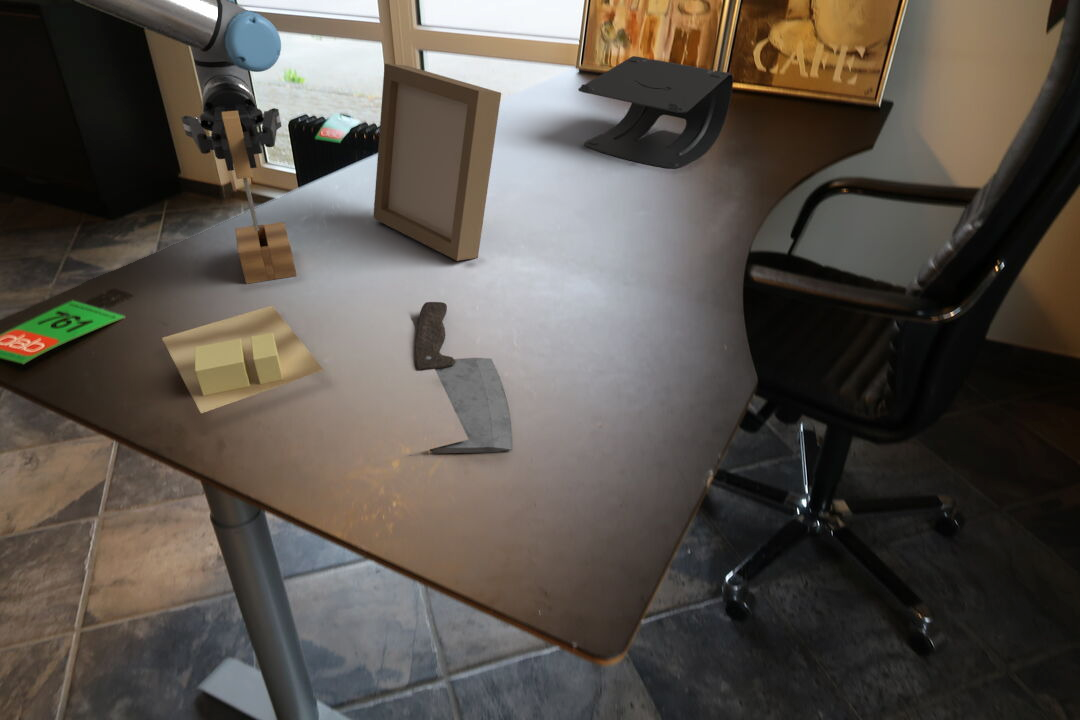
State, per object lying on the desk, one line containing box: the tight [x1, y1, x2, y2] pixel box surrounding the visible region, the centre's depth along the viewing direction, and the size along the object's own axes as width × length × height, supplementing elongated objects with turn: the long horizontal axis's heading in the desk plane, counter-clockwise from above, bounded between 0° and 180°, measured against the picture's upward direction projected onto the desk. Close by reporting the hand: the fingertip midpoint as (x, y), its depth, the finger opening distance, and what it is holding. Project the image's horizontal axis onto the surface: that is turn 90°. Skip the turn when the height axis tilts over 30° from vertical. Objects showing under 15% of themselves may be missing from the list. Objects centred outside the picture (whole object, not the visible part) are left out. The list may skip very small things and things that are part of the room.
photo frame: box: [372, 62, 502, 262], centre depth 111 cm, size 15×22×25 cm
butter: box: [195, 339, 250, 396], centre depth 80 cm, size 5×5×4 cm
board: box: [161, 305, 324, 414], centre depth 86 cm, size 18×14×2 cm
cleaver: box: [414, 301, 513, 454], centre depth 84 cm, size 29×10×2 cm, turn 13°
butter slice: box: [251, 333, 283, 384], centre depth 82 cm, size 5×2×4 cm, turn 22°
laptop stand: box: [578, 55, 734, 169], centre depth 151 cm, size 26×24×16 cm
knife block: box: [234, 221, 297, 285], centre depth 105 cm, size 9×7×5 cm
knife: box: [222, 111, 259, 231], centre depth 95 cm, size 6×2×15 cm, turn 23°
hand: (239, 158), depth 88 cm, fingers closed on knife, 2 cm apart
